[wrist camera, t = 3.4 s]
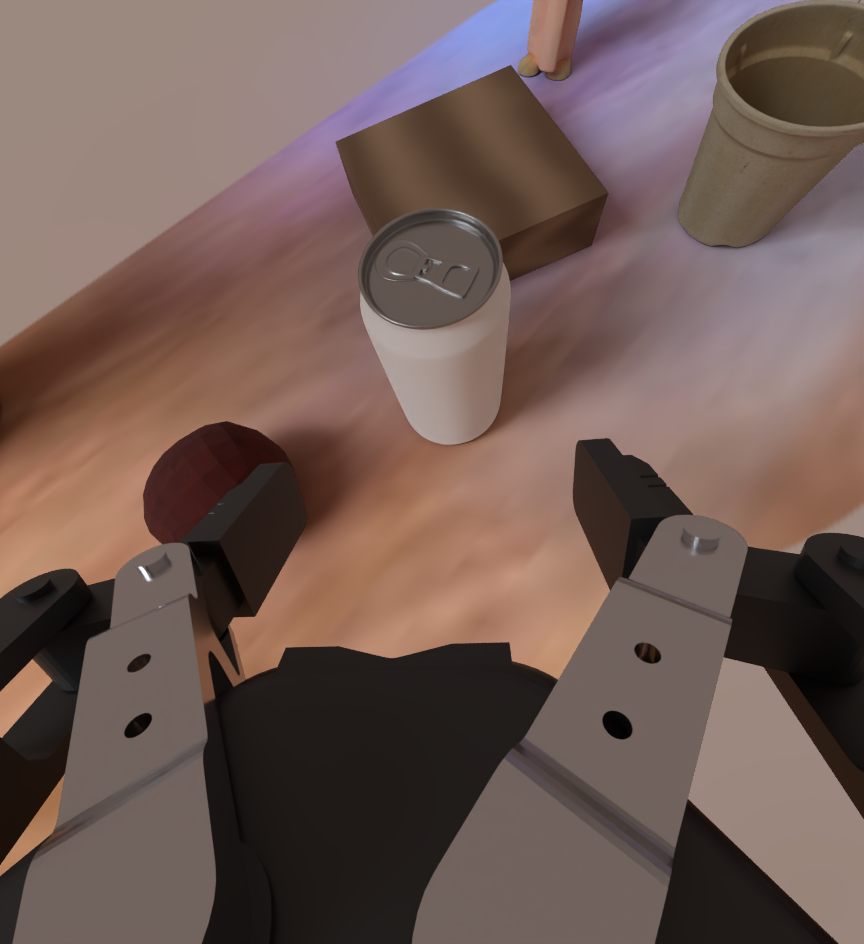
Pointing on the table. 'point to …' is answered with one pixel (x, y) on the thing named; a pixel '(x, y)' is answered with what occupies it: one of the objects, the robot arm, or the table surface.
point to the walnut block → (481, 170)
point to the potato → (202, 476)
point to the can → (439, 319)
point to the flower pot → (776, 119)
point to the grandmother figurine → (551, 38)
